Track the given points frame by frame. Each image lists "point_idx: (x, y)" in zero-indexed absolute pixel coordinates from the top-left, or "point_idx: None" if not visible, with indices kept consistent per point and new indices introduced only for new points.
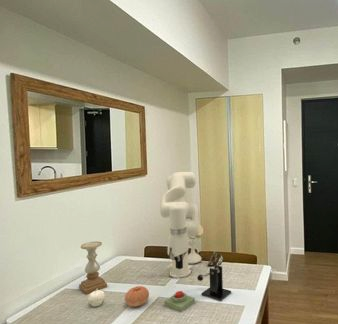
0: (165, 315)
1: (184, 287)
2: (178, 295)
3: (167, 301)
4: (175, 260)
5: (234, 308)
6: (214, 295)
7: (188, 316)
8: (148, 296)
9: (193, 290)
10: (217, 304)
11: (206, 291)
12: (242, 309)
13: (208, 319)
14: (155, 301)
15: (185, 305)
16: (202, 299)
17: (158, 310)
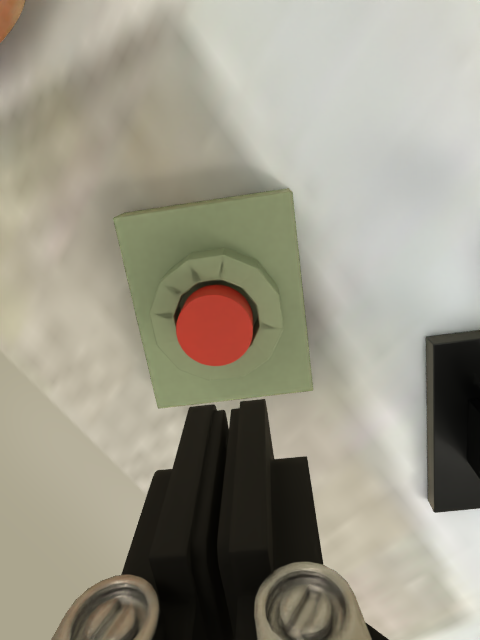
0: (62, 337)
1: (460, 74)
2: (187, 351)
3: (128, 251)
4: (103, 610)
5: (404, 600)
6: (452, 451)
7: (166, 461)
8: (2, 34)
9: (456, 210)
10: (383, 505)
11: (475, 359)
12: (420, 633)
13: None
14: (101, 75)
15: (205, 399)
16: (377, 386)
17: (53, 237)
